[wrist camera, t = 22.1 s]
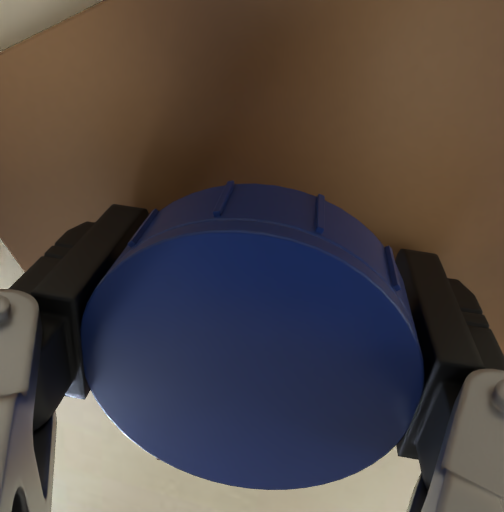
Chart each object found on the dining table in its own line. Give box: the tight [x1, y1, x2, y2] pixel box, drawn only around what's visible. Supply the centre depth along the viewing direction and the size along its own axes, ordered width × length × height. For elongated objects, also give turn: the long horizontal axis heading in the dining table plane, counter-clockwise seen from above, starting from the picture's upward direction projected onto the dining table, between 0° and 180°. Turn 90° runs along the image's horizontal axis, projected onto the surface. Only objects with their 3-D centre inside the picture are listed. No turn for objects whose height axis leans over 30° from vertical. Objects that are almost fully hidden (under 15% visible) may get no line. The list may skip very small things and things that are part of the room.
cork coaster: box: [0, 0, 504, 460], centre depth 11 cm, size 12×12×1 cm
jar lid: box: [80, 181, 425, 490], centre depth 8 cm, size 6×6×2 cm
